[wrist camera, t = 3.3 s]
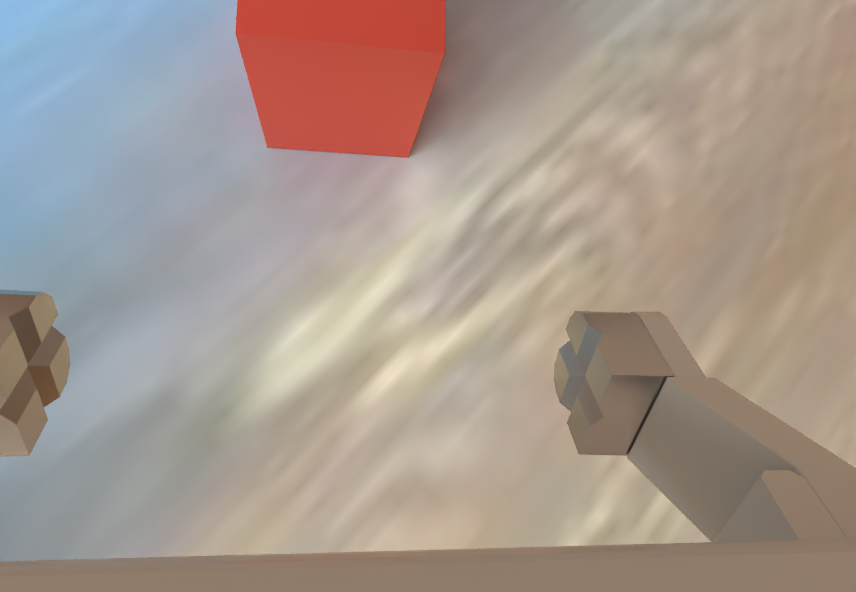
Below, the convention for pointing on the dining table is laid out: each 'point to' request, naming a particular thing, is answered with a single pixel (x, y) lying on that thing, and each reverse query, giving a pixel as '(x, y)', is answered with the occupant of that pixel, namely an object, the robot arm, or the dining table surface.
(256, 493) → the dining table surface
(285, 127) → the red rectangular block
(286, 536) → the dining table surface
